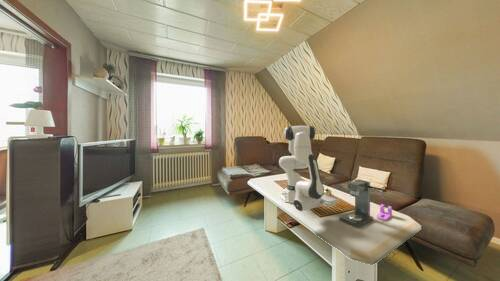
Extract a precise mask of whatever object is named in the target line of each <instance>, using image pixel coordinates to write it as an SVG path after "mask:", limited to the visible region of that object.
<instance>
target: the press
mask: <svg viewBox="0 0 500 281" xmlns="http://www.w3.org/2000/svg"><path fill="white" fill-rule="evenodd" d="M347 189H348V190H349V191H350V192H349V194H350V196H351V197H354V210H352V211H350V212H347V213H345V214H343V215H341V216H339V221H341V222H342V223H343V222H344V223H345V224H348V225H350V226H352V227H355V228H357V229H360V228H362V227H363V226H365V225H367V224H369V223H371V222H373V221H374V216H371V213H370V212H371V189H372V190H377V191H381V192H382V193H387V188H385V187H384V188H380V187H376V186H372V185H371V181H367V180H362V179H358V178H357V179H355V180H353V181H350V182H347Z"/></svg>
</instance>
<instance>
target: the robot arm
mask: <svg viewBox="0 0 500 281" xmlns="http://www.w3.org/2000/svg"><path fill="white" fill-rule="evenodd" d="M283 136H284V138H285V140H287V141H288V152H289V153H290V154H291V155H284V156H281V157H280V158H279V160H278V165H279V167H280V168H281V169H282V170H284V172H285V174H286V178H287V183H286V187H285V188H284V189H283V190H282V194H280V195H279V197H280V198H281V199H282V201H284V203H288V204H293V206H294V207H295V209H296V210H297V211H299V212H307V211H311V210H312V209H315V208H319V207H321V206H322V205H324V206H326V207H334V206H337V205H338V200H337V198H335V197H334V196H333V195H331V196H330V197H329V196H327V195H324V190H325V187H324V185H323V182H322V179H321V174H320V170H319V164H318V161H317V158H316V156H315V155H314V154H313V152H312V144H311V141H312V140H314V138H315V136H316V129H315V128H314V126H312V125H292V126H291V125H290V126H286V127H285V128H284V131H283ZM306 168H308V172H309V177H310V178H309V179H310V180H302V177H301V175H300V173H298V172H296V171H294V170H296V169H297V170H299V169H301V170H302V169H306Z"/></svg>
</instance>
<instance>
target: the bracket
mask: <svg viewBox="0 0 500 281" xmlns="http://www.w3.org/2000/svg"><path fill="white" fill-rule="evenodd" d="M379 209H380V211H379V213H378V214H377V215H376V219H377V220H379V221H382V222H387V221H388V220H389V219H391V218H392V216H393V207H392V206H391V205H388V206H387V212H386V211H385V204H383V203H381V204H380V206H379Z"/></svg>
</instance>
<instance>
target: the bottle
mask: <svg viewBox="0 0 500 281" xmlns="http://www.w3.org/2000/svg"><path fill="white" fill-rule="evenodd" d="M324 195H327V196H329V197H330V196H332V190H330V189H329V188H326V189H324Z"/></svg>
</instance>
